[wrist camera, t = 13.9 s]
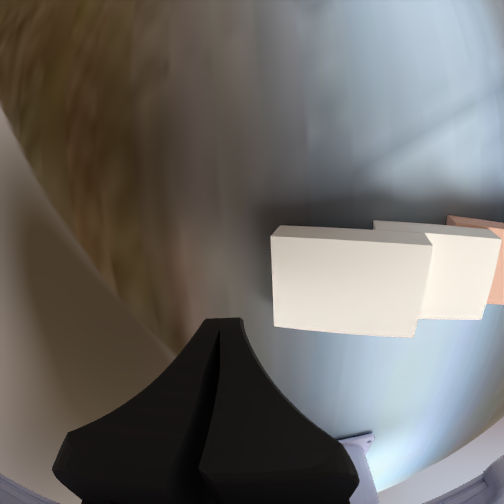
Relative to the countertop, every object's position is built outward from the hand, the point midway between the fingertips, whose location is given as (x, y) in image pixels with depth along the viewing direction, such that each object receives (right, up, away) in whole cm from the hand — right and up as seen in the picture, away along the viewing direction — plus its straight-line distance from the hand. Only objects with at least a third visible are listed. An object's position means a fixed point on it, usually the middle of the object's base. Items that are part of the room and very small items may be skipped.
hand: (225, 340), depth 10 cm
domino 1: (+2, +2, +5) cm, 6 cm away
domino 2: (+7, +2, +5) cm, 9 cm away
